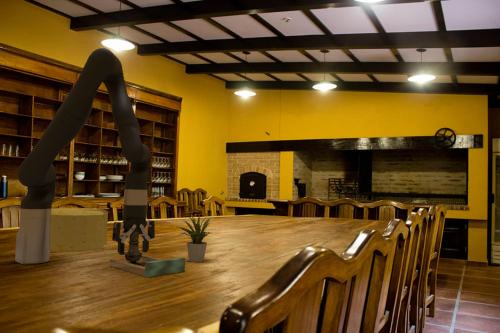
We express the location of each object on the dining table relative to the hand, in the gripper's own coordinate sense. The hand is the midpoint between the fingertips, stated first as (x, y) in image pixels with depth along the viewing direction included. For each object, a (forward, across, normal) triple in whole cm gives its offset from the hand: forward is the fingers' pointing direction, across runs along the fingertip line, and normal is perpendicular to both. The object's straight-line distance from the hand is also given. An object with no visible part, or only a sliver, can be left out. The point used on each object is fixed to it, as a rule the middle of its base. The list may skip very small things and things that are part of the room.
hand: (133, 253), depth 137 cm
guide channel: (+4, 0, -7) cm, 8 cm away
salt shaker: (+4, 0, 0) cm, 4 cm away
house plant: (+4, +22, -6) cm, 23 cm away
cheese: (+4, +2, +47) cm, 47 cm away
